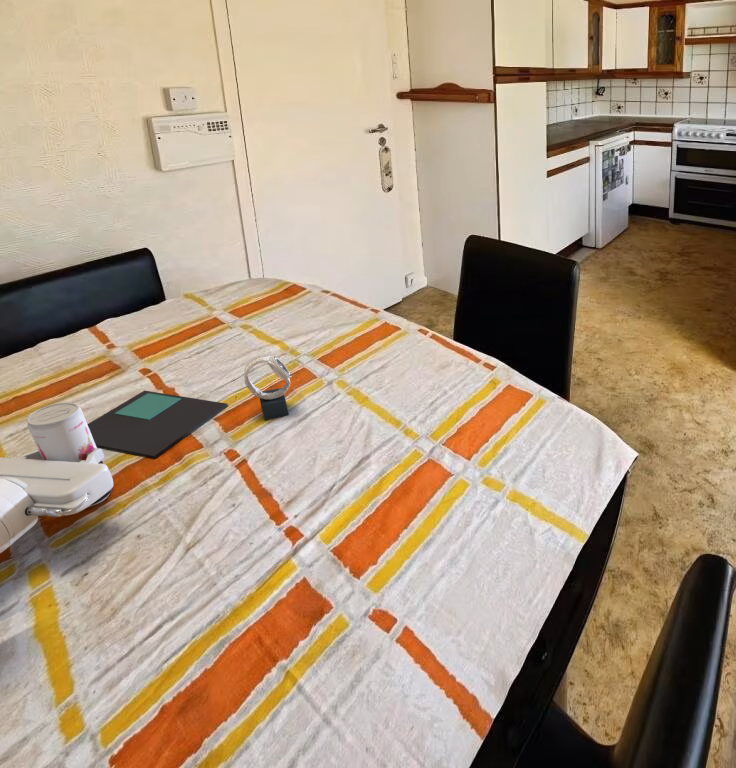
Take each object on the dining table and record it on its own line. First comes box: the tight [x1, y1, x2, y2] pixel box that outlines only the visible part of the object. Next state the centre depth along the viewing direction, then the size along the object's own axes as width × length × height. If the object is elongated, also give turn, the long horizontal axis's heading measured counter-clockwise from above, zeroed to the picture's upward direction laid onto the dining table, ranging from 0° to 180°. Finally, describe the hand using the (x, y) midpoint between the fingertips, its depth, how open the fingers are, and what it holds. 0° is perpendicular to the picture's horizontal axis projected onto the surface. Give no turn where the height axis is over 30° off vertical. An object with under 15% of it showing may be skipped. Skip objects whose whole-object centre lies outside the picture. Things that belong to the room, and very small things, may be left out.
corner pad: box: [115, 393, 181, 420], centre depth 118 cm, size 8×8×1 cm
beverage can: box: [26, 401, 113, 509], centre depth 92 cm, size 6×7×15 cm
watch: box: [243, 355, 292, 421], centre depth 115 cm, size 6×8×11 cm
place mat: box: [87, 390, 229, 460], centre depth 114 cm, size 20×18×1 cm
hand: (74, 450), depth 92 cm, fingers closed on beverage can, 6 cm apart
